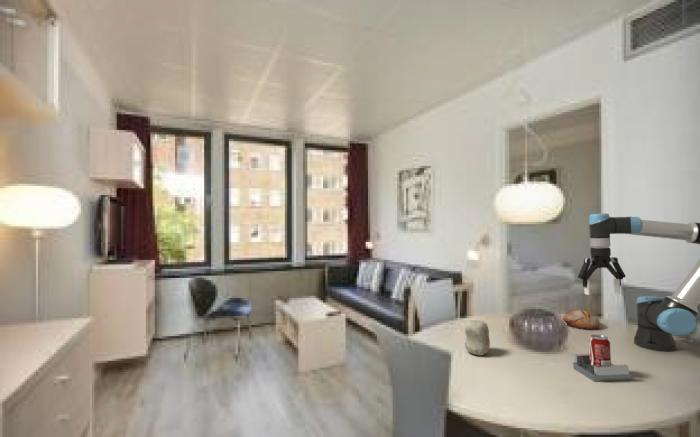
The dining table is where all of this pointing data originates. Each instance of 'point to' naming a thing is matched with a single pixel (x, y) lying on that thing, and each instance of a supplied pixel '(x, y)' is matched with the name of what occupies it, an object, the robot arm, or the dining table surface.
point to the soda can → (599, 350)
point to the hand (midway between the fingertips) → (602, 293)
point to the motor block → (600, 370)
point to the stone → (477, 337)
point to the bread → (581, 320)
